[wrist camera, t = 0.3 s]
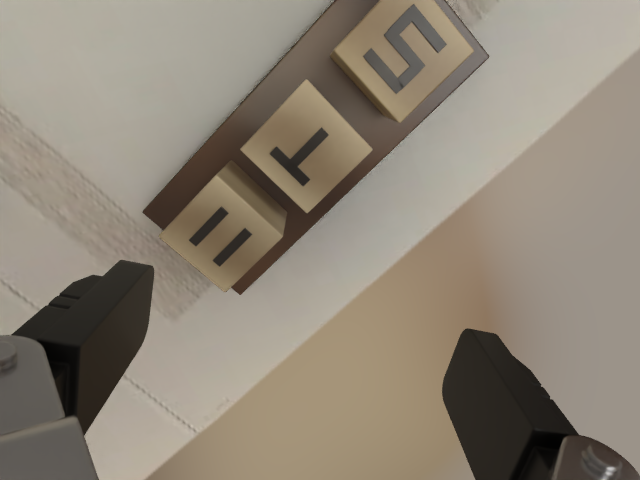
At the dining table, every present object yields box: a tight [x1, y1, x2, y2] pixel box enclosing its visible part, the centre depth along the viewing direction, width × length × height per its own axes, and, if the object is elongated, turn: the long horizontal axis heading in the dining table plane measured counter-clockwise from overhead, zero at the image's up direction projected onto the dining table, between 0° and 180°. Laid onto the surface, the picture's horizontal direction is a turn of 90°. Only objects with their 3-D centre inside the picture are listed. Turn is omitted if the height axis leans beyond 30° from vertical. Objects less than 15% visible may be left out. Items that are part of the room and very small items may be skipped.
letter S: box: [330, 0, 474, 123], centre depth 19 cm, size 4×4×4 cm
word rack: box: [143, 0, 489, 295], centre depth 21 cm, size 18×7×5 cm, turn 135°
